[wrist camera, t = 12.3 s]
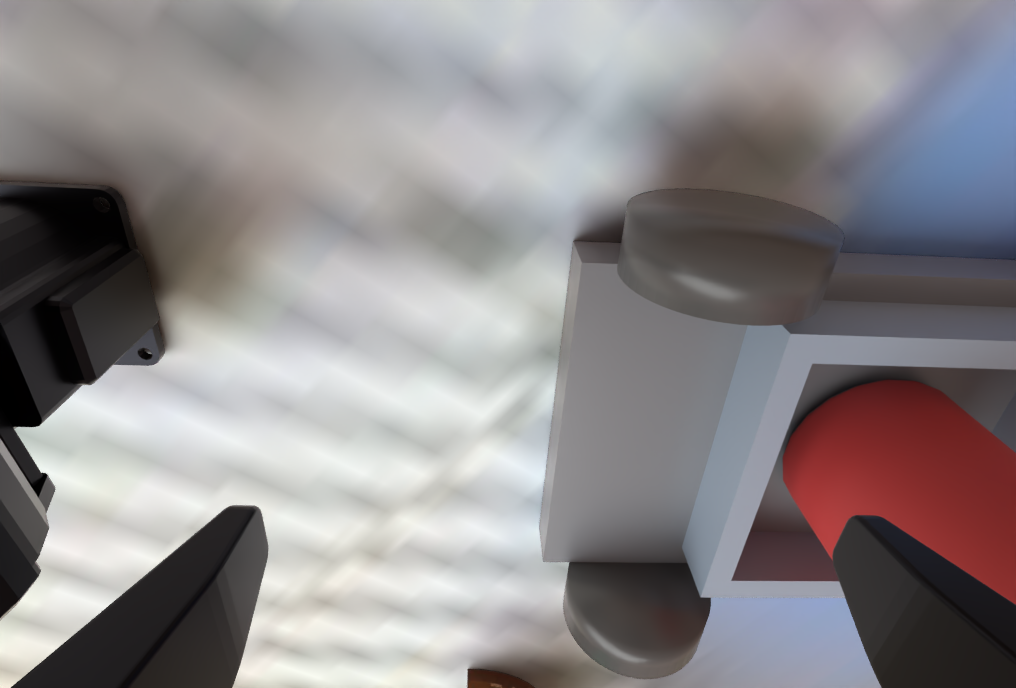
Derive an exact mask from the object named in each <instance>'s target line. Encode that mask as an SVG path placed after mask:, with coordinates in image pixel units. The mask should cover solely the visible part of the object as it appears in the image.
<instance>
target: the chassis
mask: <svg viewBox="0 0 1016 688" xmlns="http://www.w3.org/2000/svg"><path fill="white" fill-rule="evenodd" d="M844 239H845V237H844V233H843V232H842V230H841V229H840V228H839V227H838V226H837V225H835V224H834V223H832V222H831V221H829V220H827V219H825V218H823V217H821V216H819V215H817V214H815V213H812V212H810V211H807V210H804V209H802V208H799V207H796V206H792V205H789V204H786V203H782V202H778V201H774V200H770V199H766V198H761V197H756V196H751V195H745V194H739V193H732V192H724V191H715V190H702V189H665V190H656V191H650V192H646V193H642V194H639V195H636V196H635V197H633V198H631V199H630V200H629V202H628V204H627V210H626V216H625V222H624V228H623V234H622V240H621V243H607V242H583V241H573V247H572V255H571V263H570V272H569V280H568V289H567V297H566V305H565V314H564V322H563V331H562V339H561V347H560V356H559V364H558V373H557V381H556V389H555V398H554V406H553V415H552V423H551V431H550V440H549V448H548V457H547V465H546V473H545V482H544V490H543V499H542V507H541V515H540V524H539V530H540V539H541V548H542V557H543V562H570V563H569V567H568V574H567V580H566V586H565V592H564V600H563V609H564V615H565V620H566V623H567V626H568V628H569V630H570V632H571V634H572V636H573V638H574V639H575V641H576V642H577V644H578V645H579V646H580V647H581V648H582V649H583V651H584V652H585V653H586V654H588V655H589V656H590V657H591V658H592V659H593V660H595V661H596V662H597V663H599V664H600V665H602V666H604V667H605V668H607V669H609V670H611V671H613V672H616V673H618V674H621V675H624V676H627V677H633V678H639V679H654V678H661V677H665V676H668V675H671V674H673V673H675V672H677V671H678V670H680V669H682V668H683V667H684V666H685V665H686V664H687V663H688V662H689V661H690V660H691V659H692V657H693V655H694V654H695V652H696V650H697V647H698V644H699V641H700V639H701V636H702V633H703V630H704V627H705V625H706V622H707V619H708V616H709V613H710V607H711V598H710V597H715V598H845V596H844V593H843V590H842V588H841V585H840V582H839V580H838V577H837V574H836V572H835V569H834V566H833V561H832V559H831V558H830V556H829V554H828V553H827V551H826V550H825V548H824V547H823V545H822V543H821V542H820V540H819V539H818V537H817V536H816V534H815V532H814V531H813V529H812V528H811V526H810V525H809V523H808V522H807V520H806V518H805V517H804V515H803V514H802V512H801V511H800V509H799V507H798V506H797V504H796V503H795V501H794V500H793V498H792V496H791V495H790V493H789V491H788V489H787V487H786V485H785V483H784V481H783V455H784V452H785V450H786V447H787V445H788V442H789V440H790V437H791V435H792V433H793V432H794V431H795V429H796V428H797V427H798V426H799V424H800V423H801V422H802V421H803V419H804V418H805V417H806V416H807V414H809V413H810V412H811V411H813V410H814V409H815V408H816V407H818V406H819V405H820V404H822V403H823V402H824V401H826V400H827V399H828V398H830V397H832V396H834V395H836V394H839V393H841V392H843V391H845V390H847V389H849V388H852V387H854V386H857V385H862V384H866V383H871V382H876V381H880V380H908V381H916V382H920V383H922V384H925V385H927V386H930V387H933V388H935V389H938V390H940V391H942V392H943V393H944V394H945V395H946V396H948V397H949V398H950V399H951V400H952V401H954V402H955V403H956V404H957V405H958V406H960V407H961V408H962V409H963V410H964V411H966V412H967V413H968V414H969V415H971V416H972V417H973V418H974V419H975V420H977V421H978V422H979V423H980V424H981V425H983V426H984V427H985V428H986V429H987V430H989V431H990V432H991V433H992V434H993V435H995V436H996V437H997V438H998V439H1000V440H1001V441H1002V442H1003V443H1004V444H1006V445H1007V446H1008V447H1009V448H1010V449H1012V450H1013V451H1014V452H1015V453H1016V260H1008V259H984V258H961V257H937V256H913V255H890V254H866V253H843V252H840V250H841V247H842V245H843V242H844Z"/></svg>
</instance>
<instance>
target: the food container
mask: <svg viewBox="0 0 1016 688" xmlns="http://www.w3.org/2000/svg"><path fill="white" fill-rule="evenodd" d="M467 688H535V687H534V686H532V685H531V684H529V683H528V682H526V681H524V680H522V679H520V678H517V677H514V676H511V675H509V674H505V673H500V672H496V671H489V670H477V669H468V675H467Z"/></svg>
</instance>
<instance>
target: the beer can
mask: <svg viewBox="0 0 1016 688" xmlns="http://www.w3.org/2000/svg"><path fill="white" fill-rule="evenodd" d="M783 481H784V483H785V485H786V487H787V489H788V491H789V493H790V495H791V496H792V498H793V500H794V501H795V503H796V504H797V506H798V507H799V509H800V511H801V512H802V514H803V515H804V517H805V518H806V520H807V522H808V523H809V525H810V526H811V528H812V529H813V531H814V532H815V534H816V536H817V537H818V539H819V540H820V542H821V543H822V545H823V547H824V548H825V550H826V551H827V553H828V554H829V556H830V558H831V559H832V554H833V549H834V547H835V545H836V543H837V541H838V539H839V537H840V535H841V533H842V531H843V528H844V526H845V524H846V522H847V521H848V519H849V518H850V517H852V516H854V515H876V516H880V517H883V518H885V519H886V520H888V521H889V522H891V523H892V524H894V525H895V526H897V527H898V528H900V529H901V530H903V531H905V532H906V533H908V534H909V535H911V536H912V537H914V538H915V539H917V540H918V541H920V542H921V543H923V544H924V545H926V546H927V547H929V548H930V549H932V550H933V551H935V552H936V553H938V554H939V555H941V556H943V557H944V558H946V559H947V560H949V561H950V562H952V563H953V564H955V565H956V566H958V567H959V568H961V569H962V570H964V571H965V572H967V573H968V574H970V575H971V576H973V577H974V578H976V579H977V580H979V581H981V582H982V583H984V584H985V585H987V586H988V587H990V588H991V589H993V590H994V591H996V592H997V593H999V594H1000V595H1002V596H1003V597H1005V598H1006V599H1008V600H1009V601H1011V602H1012V603H1014V604H1016V453H1015V452H1014V451H1013V450H1012V449H1010V448H1009V447H1008V446H1007V445H1006V444H1004V443H1003V442H1002V441H1001V440H1000V439H998V438H997V437H996V436H995V435H993V434H992V433H991V432H990V431H989V430H987V429H986V428H985V427H984V426H983V425H981V424H980V423H979V422H978V421H977V420H975V419H974V418H973V417H972V416H971V415H969V414H968V413H967V412H966V411H964V410H963V409H962V408H961V407H960V406H958V405H957V404H956V403H955V402H954V401H952V400H951V399H950V398H949V397H948V396H946V395H945V394H944V393H943V392H942V391H940V390H938V389H935V388H933V387H930V386H927V385H925V384H922V383H920V382H916V381H908V380H880V381H876V382H871V383H866V384H862V385H857V386H854V387H852V388H849V389H847V390H845V391H843V392H841V393H839V394H836V395H834V396H832V397H830V398H828V399H827V400H826V401H824V402H823V403H822V404H820V405H819V406H818V407H816V408H815V409H814V410H813V411H811V412H810V413H809V414H807V416H806V417H805V418H804V419H803V421H802V422H801V423H800V424H799V426H798V427H797V428H796V429H795V431H794V432H793V433H792V435H791V437H790V440H789V442H788V445H787V447H786V450H785V452H784V455H783ZM832 561H833V560H832Z"/></svg>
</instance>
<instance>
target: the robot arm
mask: <svg viewBox="0 0 1016 688" xmlns="http://www.w3.org/2000/svg"><path fill="white" fill-rule="evenodd" d="M100 197H102V198H104V199H106V200H107V201H108V202H109V204H110V209H109V208H106V207H105V206H103V205H102V203H101V202H100ZM158 321H159V314H158V310H157V307H156V303H155V299H154V296H153V292H152V288H151V284H150V281H149V277H148V273H147V269H146V266H145V262H144V258H143V256H142V255H141V254H140V252H139V251H138V249H137V246H136V242H135V238H134V235H133V231H132V227H131V224H130V220H129V216H128V213H127V209H126V205H125V202H124V200H123V197H122V196H121V195H120V194H119V192H118V191H116V190H115V189H113V188H111V187H108V186H101V185H80V184H58V183H36V182H15V181H0V620H1V619H2V618H3V617H4V616H5V615H6V614H7V613H9V612H10V611H11V610H12V609H13V608H14V607H15V606H16V605H17V604H18V602H19V601H20V600H21V598H22V597H23V596H24V595H25V593H26V592H27V591H28V590H29V588H30V587H31V586H32V585H33V583H34V582H35V580H36V579H37V578H38V576H39V574H40V572H41V570H40V567H39V565H38V564H37V562H36V560H37V559H38V557H39V555H40V552H41V549H42V547H43V544H44V541H45V538H46V536H47V533H48V530H49V525H48V520H47V516H46V512H47V510H48V507H49V505H50V502H51V500H52V497H53V494H54V492H55V486H54V485H53V483H52V481H51V480H50V478H49V476H48V475H47V474H46V473H41V472H40V470H39V469H38V467H37V465H36V464H35V462H34V460H33V459H32V457H31V456H30V454H29V452H28V451H27V449H26V448H25V446H24V444H23V443H22V441H21V439H20V438H19V436H18V435H17V433H16V431H15V430H14V429H15V428H16V427H36V426H40V425H41V424H42V423H43V422H44V421H45V420H46V419H47V418H48V417H49V416H50V415H51V414H52V413H53V412H55V411H56V410H57V409H58V408H59V407H60V406H61V405H62V404H63V403H64V402H65V401H66V400H67V399H68V398H69V397H70V396H72V395H73V394H74V393H75V392H76V391H77V390H78V389H79V388H80V387H81V386H82V385H92V384H94V383H95V382H96V381H97V380H98V379H99V378H100V377H101V376H102V375H103V374H104V373H105V372H106V371H107V370H108V369H109V368H110V367H112V366H113V365H146V366H149V365H154V364H156V363H157V362H158V361H159V360H160V359H161V358H162V357H163V355H164V353H165V350H164V345H163V342H162V338H161V334H160V330H159V327H158V323H157V322H158ZM143 348H147V349H148V350H150V351H151V353H152V354H148V353H147V352H145V350H144V349H143ZM267 558H268V542H267V537H266V532H265V527H264V522H263V517H262V513H261V510H260V509H259V508H258V507H257V506H243V505H233V506H229V507H227V508H226V509H224V510H223V511H222V512H221V513H219V514H218V515H217V516H216V517H215V518H213V519H212V520H211V521H210V522H209V523H207V524H206V525H205V526H204V527H203V528H201V529H200V530H199V531H198V532H197V533H195V534H194V535H193V536H192V537H191V538H189V539H188V540H187V541H186V542H185V543H183V544H182V545H181V546H180V547H179V548H178V549H176V550H175V551H174V552H173V553H172V554H170V555H169V556H168V557H167V558H166V559H164V560H163V561H162V562H161V563H160V564H158V565H157V566H156V567H155V568H154V569H152V570H151V571H150V572H149V573H148V574H146V575H145V576H144V577H143V578H142V579H140V580H139V581H138V582H137V583H136V584H134V585H133V586H132V587H131V588H130V589H128V590H127V591H126V592H125V593H124V594H122V595H121V596H120V597H119V598H118V599H116V600H115V601H114V602H113V603H112V604H110V605H109V606H108V607H107V608H106V609H104V610H103V611H102V612H101V613H100V614H98V615H97V616H96V617H95V618H94V619H92V620H91V621H90V622H89V623H88V624H86V625H85V626H84V627H83V628H82V629H80V630H79V631H78V632H77V633H76V634H74V635H73V636H72V637H71V638H70V639H68V640H67V641H66V642H65V643H64V644H63V645H61V646H60V647H59V648H58V649H57V650H55V651H54V652H53V653H52V654H51V655H49V656H48V657H47V658H46V659H45V660H43V661H42V662H41V663H40V664H39V665H37V666H36V667H35V668H34V669H33V670H31V671H30V672H29V673H28V674H27V675H25V676H24V677H23V678H22V679H21V680H19V681H18V682H17V683H16V684H15V685H13V686H12V687H11V688H232V687H233V684H234V681H235V678H236V676H237V673H238V670H239V667H240V664H241V660H242V656H243V653H244V649H245V645H246V641H247V638H248V634H249V630H250V626H251V622H252V618H253V614H254V610H255V606H256V602H257V598H258V594H259V590H260V586H261V582H262V578H263V574H264V570H265V567H266V563H267ZM832 560H833V566H834V569H835V572H836V574H837V577H838V580H839V582H840V585H841V588H842V590H843V593H844V596H845V598H846V601H847V604H848V606H849V609H850V612H851V614H852V617H853V620H854V622H855V625H856V628H857V630H858V633H859V636H860V638H861V641H862V644H863V646H864V649H865V651H866V654H867V656H868V659H869V661H870V664H871V666H872V668H873V670H874V673H875V675H876V677H877V679H878V681H879V683H880V685H881V687H882V688H1016V604H1014V603H1012V602H1011V601H1009V600H1008V599H1006V598H1005V597H1003V596H1002V595H1000V594H999V593H997V592H996V591H994V590H993V589H991V588H990V587H988V586H987V585H985V584H984V583H982V582H981V581H979V580H977V579H976V578H974V577H973V576H971V575H970V574H968V573H967V572H965V571H964V570H962V569H961V568H959V567H958V566H956V565H955V564H953V563H952V562H950V561H949V560H947V559H946V558H944V557H943V556H941V555H939V554H938V553H936V552H935V551H933V550H932V549H930V548H929V547H927V546H926V545H924V544H923V543H921V542H920V541H918V540H917V539H915V538H914V537H912V536H911V535H909V534H908V533H906V532H905V531H903V530H901V529H900V528H898V527H897V526H895V525H894V524H892V523H891V522H889V521H888V520H886V519H885V518H883V517H880V516H876V515H854V516H852V517H850V518H849V519H848V521H847V522H846V524H845V526H844V528H843V531H842V533H841V535H840V537H839V539H838V541H837V543H836V545H835V547H834V549H833V554H832Z"/></svg>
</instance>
